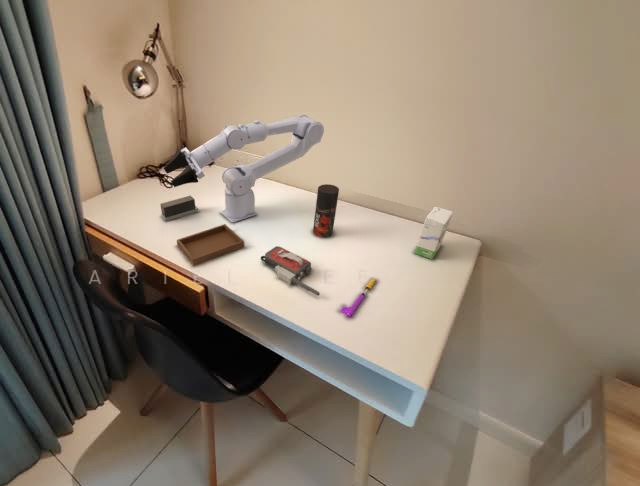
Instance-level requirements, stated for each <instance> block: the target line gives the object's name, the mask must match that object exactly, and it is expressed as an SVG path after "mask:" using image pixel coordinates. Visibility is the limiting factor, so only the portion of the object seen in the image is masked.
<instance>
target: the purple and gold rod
mask: <svg viewBox="0 0 640 486" xmlns="http://www.w3.org/2000/svg"><path fill="white" fill-rule="evenodd" d="M376 280H377V279H375V278H372V279H371V280H369V282H368V284H367V285H366V286H365V291H364V292H362V293H360V295H359V296H358V297H357V299H356V300H355V301H354V303H353V304H352V306H343V307H342V308H341V309H340V312H341V313H343V314H345V316H346V317H348V318H350V317H352V316H353V314H354V313H355V311H356V309H357V308H358V307H359V305H360V304H361V302H362V301H363V300H364V298H365V297H366V293H367V291H369V290H371V289H372V287H373V286H374V284H375V282H376Z"/></svg>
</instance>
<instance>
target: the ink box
mask: <svg viewBox="0 0 640 486" xmlns="http://www.w3.org/2000/svg"><path fill="white" fill-rule="evenodd" d="M453 214H454V212H453V211H452V210H448V209H446V208H443V207H439V206H434V207H433V208H432V209H431V210H430V212H429V213H428V214H427V215H426V217H425V220H424V223H423V224H422V229H421V231H420V235H419V237H418V238H419V239H418V241H417V245H416V247H415V251H414V254H416V255H417V256H422V257H424V258H427V259H430V260H433V259H434V257H435V256H436V254H437V252H438V251H439V250H440V247H442V243H443V240H444V238H445V235H446V232H447V229H448V227H449V224H450V222H451V219H452V217H453Z"/></svg>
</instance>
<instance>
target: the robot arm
mask: <svg viewBox="0 0 640 486" xmlns="http://www.w3.org/2000/svg"><path fill="white" fill-rule="evenodd" d="M324 132H325V126H324V125H323V123H321V122H320V121H316V120H315V119H312V118H310V117H309V116H308V115H306V114H301V115H293V116H292V117H289V118H285V119H282V120H277V121H273V122H270V123H267V124H265V123H264V122H263V121H259V120H258V119H256V120H253V122H251V123H246V124H243V123H239V124H238V126H236V125H232V124H231V125H230V124H229V125H225V126H224V127H223V129H222V130H221V132H220V133H219V134H217V135H216V136H214V137H213V138H211V139H209V140H208V141H206V142H204V143H203V144H201V145H199V146H198V147H196V148H195V149H193V150H192V151H190V150H189V149H188V148H187V147H186V146H185V147H184V148H182V149H181V150H179V149H176V151H175V153H174V155H173V157H172V158H171V159H170V160H169V161H168V162H167V163H166V164H165V165H164V167H162V169H163V170H164V171H165V172H164V173H166V174H171V173H172V172H174V171H177V170H179V169H181V168H184V169H183V170H182V171H181V172H180V173H179V174H178V175H176V176H175V177H174V178H172V179H171V180H170V183H171V184H172V186H173V188H176V187H180V186H183V185H187V184H193V183H196V184H197V183H199V180H201V179H203V178H204V177H205V176H206V175H205V174H204V171H203V170H202V169H203V168H205V167H207V166H208V165H210V164H212V163H214V162H215V161H217V160H218V159H219V158H221V157H223V156H224V155H226V154H228V153H229V152H230V151H232V150H239V151H240V150H242V148H244V147H245V146H247V145H250V144H254V143H260V142H264V141H265V140H267V138H268V137H269V136H275V135H282V134H288V133H291V140H290V143H289V144H287V145H285V146H283V147H281V148H279V149H277V150H275V151H273V152H271V153H269V154H267V155H265V156H263V157H261V158H258V159H256V160H255V161H252V162H251V163H249V164H238V165H237V166H230V167H227V168H225V169H224V170H223V172H222V175H221V180H222V182H223V183H224V184H225V186H224V203H225V205H224V207H225V210H221V211H220V214H222V216H224V217H225V218H226V220H228V221H230V222H231V223H235V222H239V221H242V220H245V219H248V218H251V217H254V216H257V213H256V211H255V210H256V206H255V205H256V203H255V202H256V198H255V197H256V196H255V193H254V190H253V189H252V188H254V187H255V185H256V181H257V180H259V179H261V178H263V177H265V176H266V175H267V176H268V174H271V173H273V172H275V171H276V170H279V169H281V168H282V167H284V166H286V165H289V164H290V163H293V162H294V161H297V160H298V159H300V158H303V157H304V156H305V155H306V154H307V153H308V152H309V151H310V150H311V149H312V147H313V146H315V145H317V144H319V143H321V140H322V138H323V136H324Z"/></svg>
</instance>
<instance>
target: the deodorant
mask: <svg viewBox="0 0 640 486" xmlns="http://www.w3.org/2000/svg"><path fill="white" fill-rule="evenodd" d="M339 193H340V188H339V187H338V186H337V185H334V184H329V183H328V184H320V185H319V186H318V187H317V193H316V201H315V202H316V203H315V211H314V220H313V229H312V233H313V235H315V237H318V238H321V239H326V238H327V239H328V238H331V237H332V236H333V234H334V226H335V219H336V214H337V213H336V212H337V207H338V200H339Z"/></svg>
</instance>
